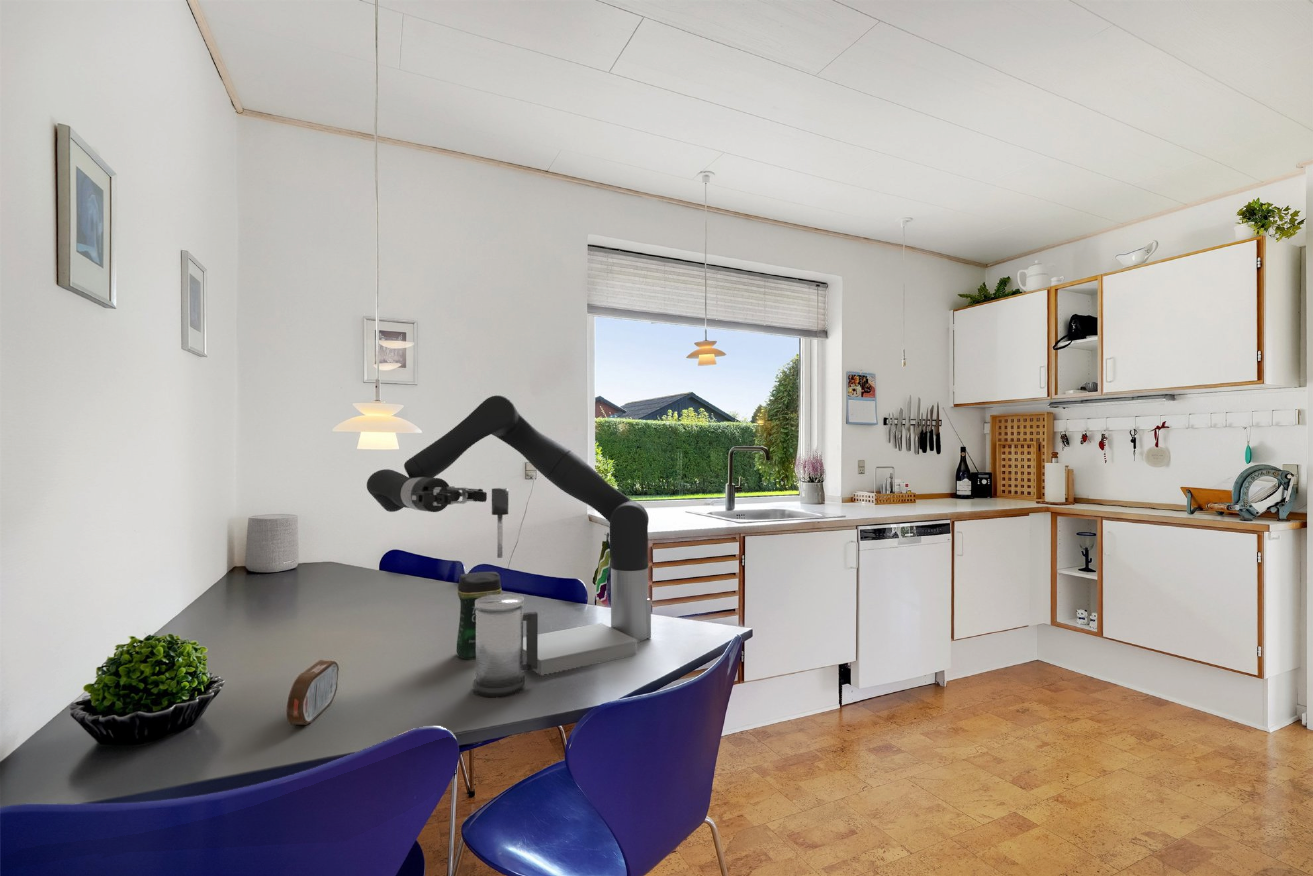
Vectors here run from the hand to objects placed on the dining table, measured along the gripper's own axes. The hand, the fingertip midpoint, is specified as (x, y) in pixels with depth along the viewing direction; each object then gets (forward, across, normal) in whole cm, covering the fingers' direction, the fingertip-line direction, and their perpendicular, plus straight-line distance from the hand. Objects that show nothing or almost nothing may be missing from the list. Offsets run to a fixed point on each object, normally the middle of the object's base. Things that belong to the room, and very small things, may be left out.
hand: (467, 498), depth 131 cm
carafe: (+12, +1, +37) cm, 38 cm away
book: (+7, +23, +37) cm, 44 cm away
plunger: (+11, 0, +11) cm, 16 cm away
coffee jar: (-9, +9, +37) cm, 39 cm away
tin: (-4, -28, +37) cm, 47 cm away
